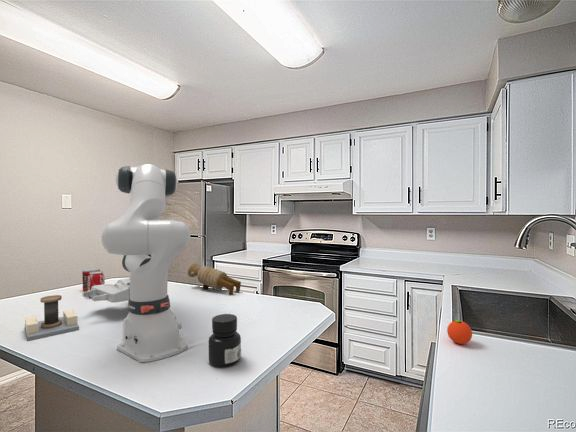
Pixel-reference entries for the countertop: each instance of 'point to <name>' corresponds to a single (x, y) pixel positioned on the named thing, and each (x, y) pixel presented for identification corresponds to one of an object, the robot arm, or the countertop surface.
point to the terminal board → (37, 332)
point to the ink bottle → (224, 341)
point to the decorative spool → (213, 278)
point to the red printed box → (85, 277)
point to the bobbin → (51, 311)
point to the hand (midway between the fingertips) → (87, 296)
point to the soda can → (95, 279)
